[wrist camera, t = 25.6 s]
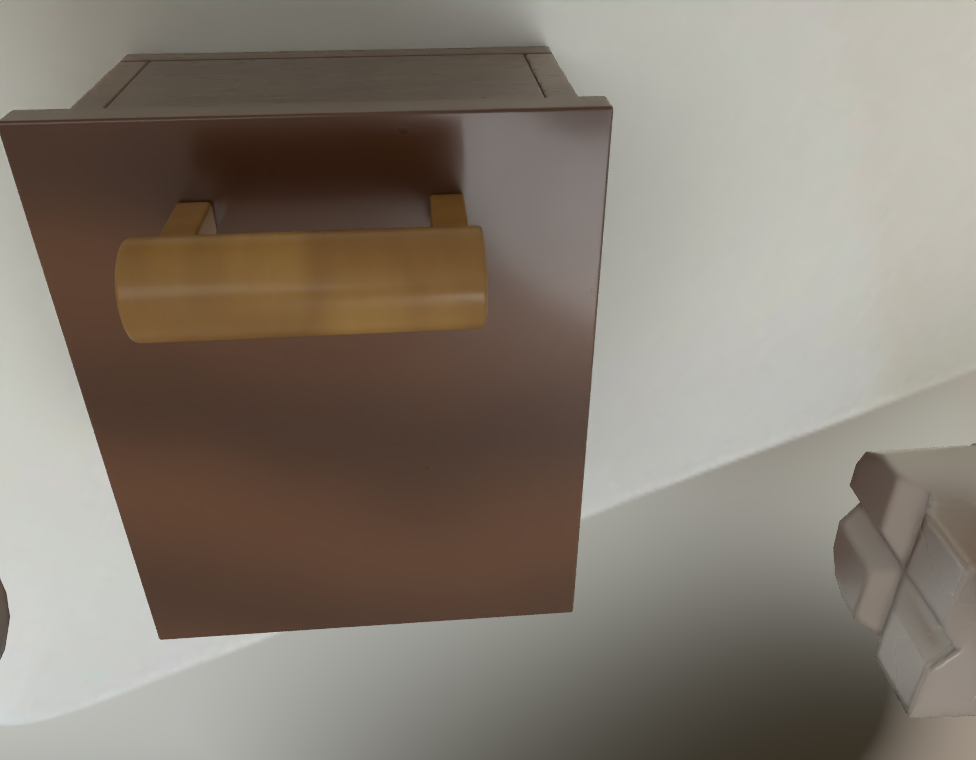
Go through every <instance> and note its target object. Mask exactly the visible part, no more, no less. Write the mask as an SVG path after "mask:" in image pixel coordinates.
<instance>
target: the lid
mask: <svg viewBox="0 0 976 760" xmlns="http://www.w3.org/2000/svg"><path fill="white" fill-rule="evenodd" d="M612 118H613V107H612V105H611V104H610V103H609V101H608V100H607V98H606V97H604V96H589V97H547V98H505V99H463V100H422V101H380V102H338V103H296V104H254V105H213V106H171V107H129V108H87V109H45V110H13V111H11V112H9V113H8V114H7V115H6V116H4V117H3V118H2V119H1V120H0V135H1V139H2V142H3V145H4V148H5V151H6V154H7V158H8V161H9V164H10V167H11V170H12V173H13V177H14V180H15V183H16V186H17V189H18V192H19V196H20V199H21V202H22V205H23V208H24V211H25V215H26V218H27V221H28V224H29V227H30V230H31V234H32V237H33V240H34V243H35V246H36V249H37V253H38V256H39V259H40V262H41V265H42V268H43V272H44V275H45V278H46V281H47V284H48V287H49V291H50V294H51V297H52V300H53V303H54V306H55V310H56V313H57V316H58V319H59V322H60V325H61V329H62V332H63V335H64V338H65V341H66V344H67V348H68V351H69V354H70V357H71V360H72V363H73V367H74V370H75V373H76V376H77V379H78V382H79V386H80V389H81V392H82V395H83V398H84V401H85V405H86V408H87V411H88V414H89V417H90V420H91V424H92V427H93V430H94V433H95V436H96V439H97V443H98V446H99V449H100V452H101V455H102V458H103V462H104V465H105V468H106V471H107V474H108V477H109V481H110V484H111V487H112V490H113V493H114V496H115V500H116V503H117V506H118V509H119V512H120V515H121V519H122V522H123V525H124V528H125V531H126V534H127V538H128V541H129V544H130V547H131V550H132V553H133V557H134V560H135V563H136V566H137V569H138V572H139V576H140V579H141V582H142V585H143V588H144V591H145V595H146V598H147V601H148V604H149V607H150V610H151V614H152V617H153V620H154V623H155V626H156V629H157V633H158V636H159V639H161V640H163V639H178V638H193V637H208V636H222V635H237V634H252V633H267V632H282V631H297V630H310V629H325V628H339V627H355V626H371V625H386V624H401V623H415V622H429V621H444V620H460V619H474V618H488V617H489V618H490V617H504V616H519V615H534V614H549V613H563V612H572V611H573V603H574V590H575V577H576V564H577V553H578V541H579V528H580V516H581V503H582V491H583V479H584V466H585V454H586V441H587V429H588V416H589V404H590V392H591V379H592V367H593V354H594V342H595V329H596V317H597V305H598V292H599V280H600V267H601V255H602V242H603V230H604V217H605V205H606V193H607V180H608V168H609V155H610V143H611V130H612Z"/></svg>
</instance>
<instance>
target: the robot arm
mask: <svg viewBox="0 0 976 760" xmlns="http://www.w3.org/2000/svg"><path fill="white" fill-rule="evenodd" d="M850 487H851V488H852V490H853V491H854V493H855V494H856V496H857V497H858V499H859V501H860V503H859V504H858V505H857V506H856V507H855V508H854V509H853V510H851V511H850V512H849V513H848V514H847V515H846V516H845V517H844V518H843V519H841V520H840V522H839V526H838V531H837V535H836V539H835V543H834V561H835V562H834V563H835V576H836V579H837V582H838V585H839V588H840V591H841V595H842V597H843V599H844V601H845V603H846V605H847V607H848V608H849V611H850V612H851V614H852V616H853V618H854V619H856V620H857V621H859V622H860V623H861V624H863V625H864V626H866V627H867V628H869V629H870V630H872V631H873V632H875V633H876V634H878V635H879V636H880V639H879V643H878V646H877V650H876V654H875V658H876V660H877V662H878V664H879V665H880V667H881V669H882V671H883V673H884V674H885V676H886V678H887V680H888V681H889V683H890V685H891V687H892V688H893V690H894V692H895V694H896V696H897V697H898V699H899V701H900V703H901V705H902V706H903V708H904V710H905V712H906V713H907V715H908V717H909V718H910V719H917V718H936V717H937V718H938V717H957V716H958V717H959V716H976V443H975V444H972V445H970V446H949V447H933V448H920V449H919V448H917V449H902V450H886V451H870V452H866V453H865V454H864V455H863V456H862V458H861V459H860V460H859V461H858V463H857V464H856V467H855V470H854V473H853V477H852V480H851V483H850ZM9 620H10V614H9V608H8V601H7V594H6V591H5V589H4V586H3V584H2V582H1V580H0V659H1V657H2V655H3V652H4V650H5V646H6V639H7V633H8V626H9Z"/></svg>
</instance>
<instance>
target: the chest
mask: <svg viewBox="0 0 976 760" xmlns="http://www.w3.org/2000/svg"><path fill="white" fill-rule="evenodd" d="M547 97H578V96H577V94H576V93H575V91H574V89H573V88H572V86H571V84H570V83H569V81H568V80H567V78H566V76H565V75H564V73H563V71H562V70H561V68H560V66H559V65H558V63H557V61H556V60H555V58H554V56H553V55H552V52H551V51H550V49H549V48H548V47H547V46H545V47H494V48H443V49H392V50H341V51H290V52H239V53H188V54H137V55H126V56H125V57H124V58H123V59H122V60H121V61H120V63H118V64H117V65H116V66H115V67H114V68H113V69H112V70H111V71H109V72H108V73H107V74H106V75H105V76H104V77H103V78H102V79H101V80H100V81H99V82H98V83H97V84H96V85H95V86H93V87H92V88H91V89H90V90H89V91H88V92H87V93H86V94H85V95H84V96H83V97H82V98H81V99H80V100H79V101H77V102H76V103H75V104H74V105H73V106H72V107H71V108H70V109H87V108H129V107H171V106H213V105H254V104H296V103H338V102H380V101H422V100H463V99H505V98H547Z"/></svg>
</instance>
